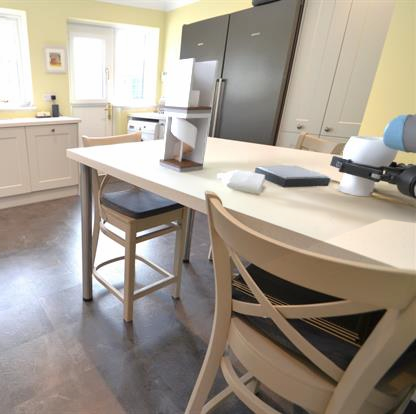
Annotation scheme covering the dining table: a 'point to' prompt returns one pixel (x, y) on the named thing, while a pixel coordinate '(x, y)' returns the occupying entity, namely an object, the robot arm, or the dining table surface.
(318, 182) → the scale
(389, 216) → the dining table surface
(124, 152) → the dining table surface
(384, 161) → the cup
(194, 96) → the white wooden shelf unit
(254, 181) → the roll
